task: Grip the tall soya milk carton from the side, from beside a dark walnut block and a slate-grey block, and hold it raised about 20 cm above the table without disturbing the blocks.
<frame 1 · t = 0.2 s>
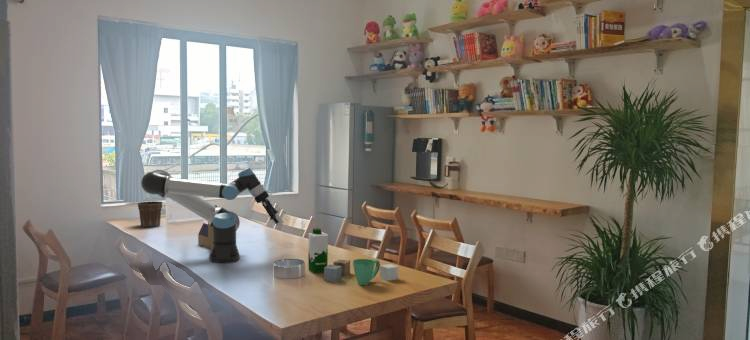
hand: (281, 225, 294), 15 cm above the table, tool tilted 35°, fingers open, 13 cm apart
slate grey block: (332, 279, 245), on the table
white cube: (388, 279, 249), on the table
toy building blocks: (215, 246, 310), on the table
soya milk: (317, 271, 260), on the table
walnut block: (341, 273, 255), on the table
plant pot: (150, 226, 369), on the table
mug: (367, 282, 241), on the table
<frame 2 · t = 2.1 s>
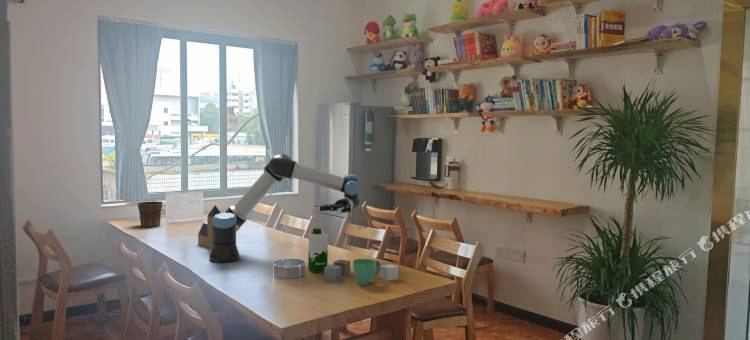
hand: (325, 211, 267), 28 cm above the table, tool horizontal, fingers open, 13 cm apart
nothing on the table moved.
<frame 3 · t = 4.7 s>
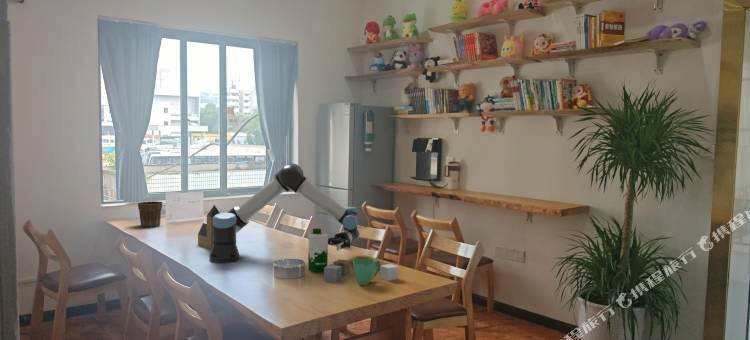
hand: (324, 246, 264), 11 cm above the table, tool horizontal, fingers open, 13 cm apart
nothing on the table moved.
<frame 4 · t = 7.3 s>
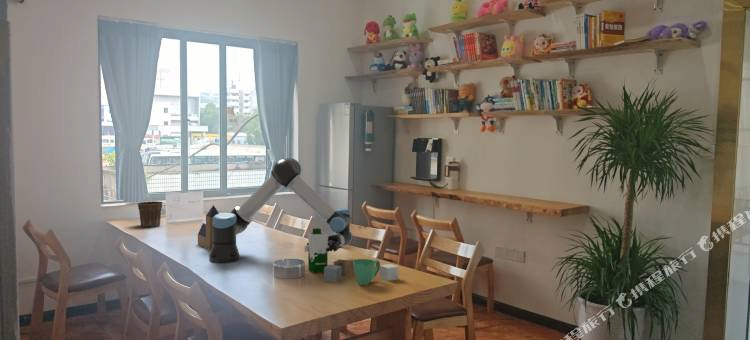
hand: (313, 250, 254), 11 cm above the table, tool horizontal, fingers closed on soya milk, 8 cm apart
soya milk: (317, 271, 260), on the table, touching gripper
everything else where it was.
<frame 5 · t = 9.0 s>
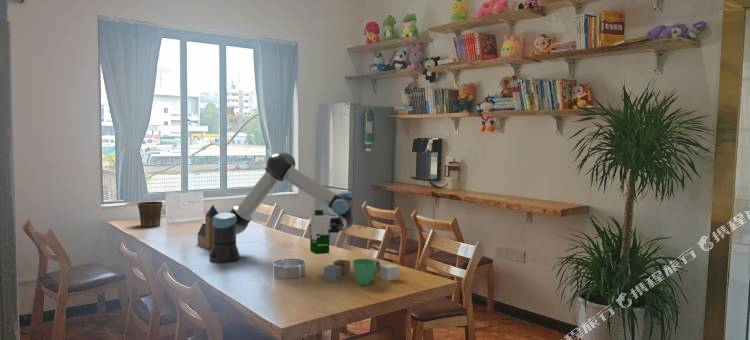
hand: (315, 231, 254), 20 cm above the table, tool horizontal, fingers closed on soya milk, 8 cm apart
soya milk: (319, 252, 259), point 9 cm above the table, touching gripper
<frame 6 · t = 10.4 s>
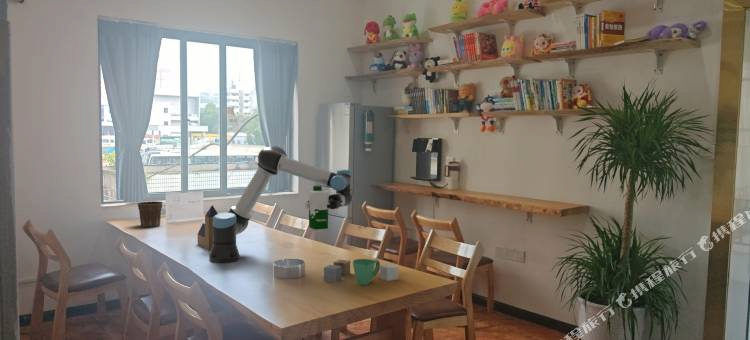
hand: (314, 206, 253), 32 cm above the table, tool horizontal, fingers closed on soya milk, 8 cm apart
soya milk: (318, 228, 258), point 21 cm above the table, touching gripper
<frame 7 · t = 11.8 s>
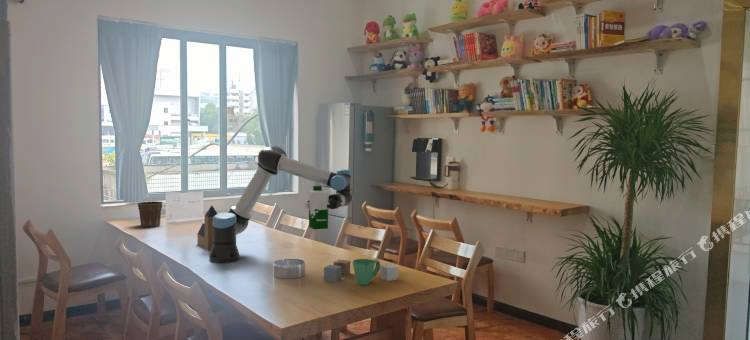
hand: (314, 206, 253), 32 cm above the table, tool horizontal, fingers closed on soya milk, 8 cm apart
soya milk: (318, 228, 258), point 21 cm above the table, touching gripper
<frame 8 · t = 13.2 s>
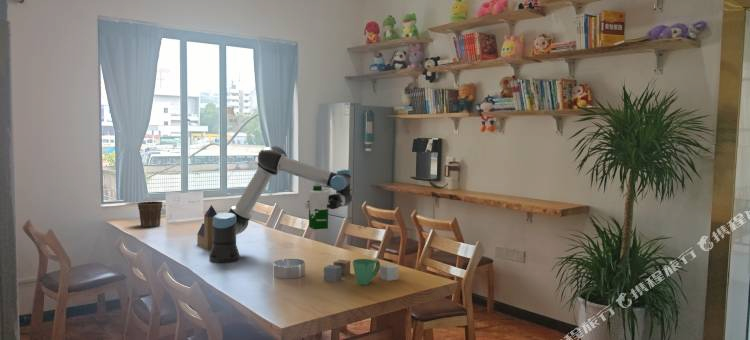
hand: (314, 206, 253), 32 cm above the table, tool horizontal, fingers closed on soya milk, 8 cm apart
soya milk: (318, 228, 258), point 21 cm above the table, touching gripper
at the end: soya milk inside the target area (0.1 cm from its centre), point 20.7 cm above the table; walnut block moved 0.1 cm from its start; slate grey block moved 0.1 cm from its start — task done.
